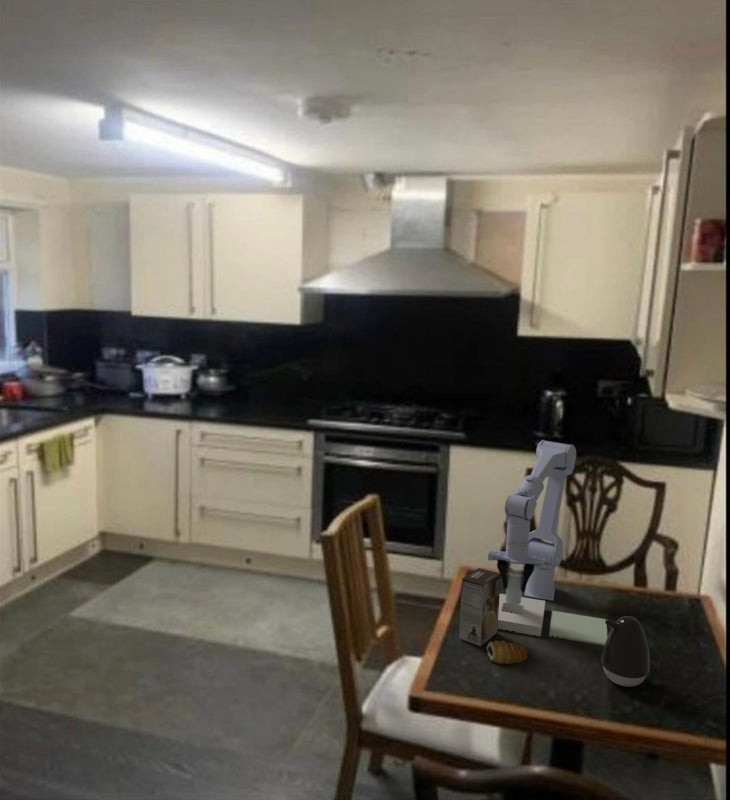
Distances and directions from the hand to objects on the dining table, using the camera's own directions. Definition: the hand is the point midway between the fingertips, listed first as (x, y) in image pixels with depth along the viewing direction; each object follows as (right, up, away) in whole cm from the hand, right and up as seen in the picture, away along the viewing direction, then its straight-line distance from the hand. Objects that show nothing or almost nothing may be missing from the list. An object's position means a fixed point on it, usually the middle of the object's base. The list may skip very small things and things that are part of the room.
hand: (514, 589), depth 187 cm
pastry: (-6, -12, -19) cm, 23 cm away
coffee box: (-11, -10, -9) cm, 17 cm away
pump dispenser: (+19, -14, -27) cm, 36 cm away
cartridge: (0, -3, +1) cm, 3 cm away
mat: (+16, -9, -4) cm, 19 cm away
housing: (0, -8, +1) cm, 8 cm away
